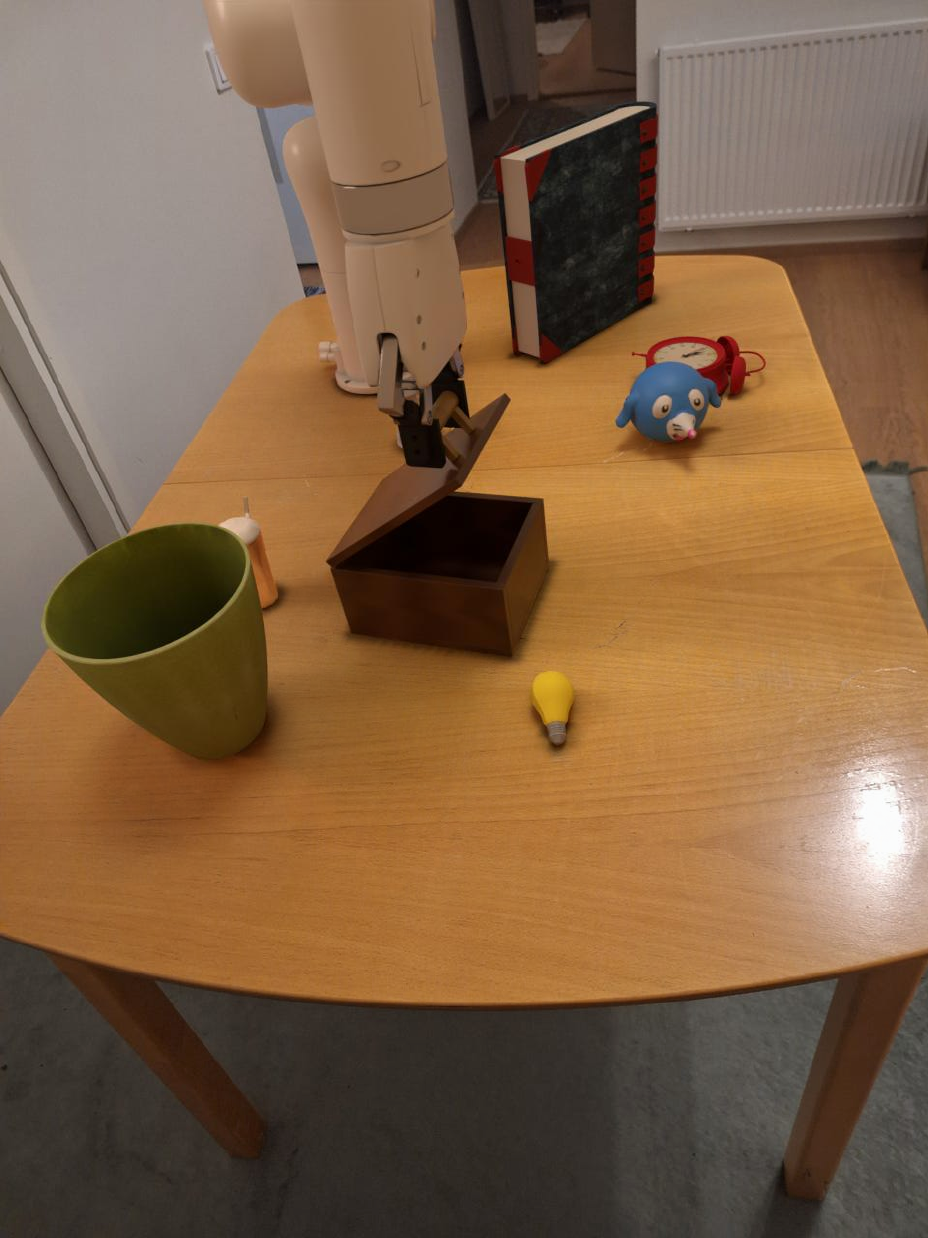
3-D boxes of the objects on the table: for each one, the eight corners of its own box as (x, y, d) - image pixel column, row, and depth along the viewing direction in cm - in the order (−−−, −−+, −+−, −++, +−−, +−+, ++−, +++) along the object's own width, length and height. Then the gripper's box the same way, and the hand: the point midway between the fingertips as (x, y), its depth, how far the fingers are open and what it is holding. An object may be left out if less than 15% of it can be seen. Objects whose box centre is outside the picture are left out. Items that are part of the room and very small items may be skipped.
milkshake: (296, 580, 81) (266, 499, 74) (271, 616, 78) (237, 534, 71) (258, 575, 83) (225, 495, 76) (231, 610, 79) (194, 529, 72)
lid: (511, 399, 66) (475, 355, 65) (462, 486, 58) (419, 439, 56) (388, 484, 77) (354, 448, 76) (331, 568, 69) (292, 530, 67)
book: (627, 288, 122) (627, 98, 106) (664, 297, 118) (670, 101, 101) (510, 354, 112) (489, 154, 95) (546, 366, 107) (531, 159, 91)
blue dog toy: (636, 483, 85) (637, 411, 80) (604, 428, 94) (603, 360, 88) (746, 460, 86) (754, 387, 80) (704, 408, 94) (709, 339, 89)
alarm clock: (626, 343, 101) (749, 302, 97) (637, 386, 105) (756, 349, 101) (636, 382, 94) (769, 340, 89) (647, 427, 98) (776, 389, 93)
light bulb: (563, 683, 66) (576, 663, 63) (572, 752, 63) (586, 734, 60) (523, 682, 66) (534, 661, 63) (530, 751, 63) (543, 733, 60)
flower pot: (274, 809, 61) (198, 665, 50) (102, 796, 64) (-4, 658, 54) (331, 665, 72) (278, 520, 61) (180, 660, 75) (105, 522, 64)
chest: (549, 564, 78) (543, 498, 72) (512, 657, 69) (502, 589, 64) (401, 548, 83) (386, 485, 77) (350, 633, 74) (329, 568, 69)
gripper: (391, 163, 59) (432, 391, 71) (282, 250, 47) (353, 504, 60) (489, 156, 56) (514, 394, 69) (398, 246, 45) (448, 512, 57)
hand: (439, 443), depth 64 cm, fingers closed on lid, 5 cm apart
